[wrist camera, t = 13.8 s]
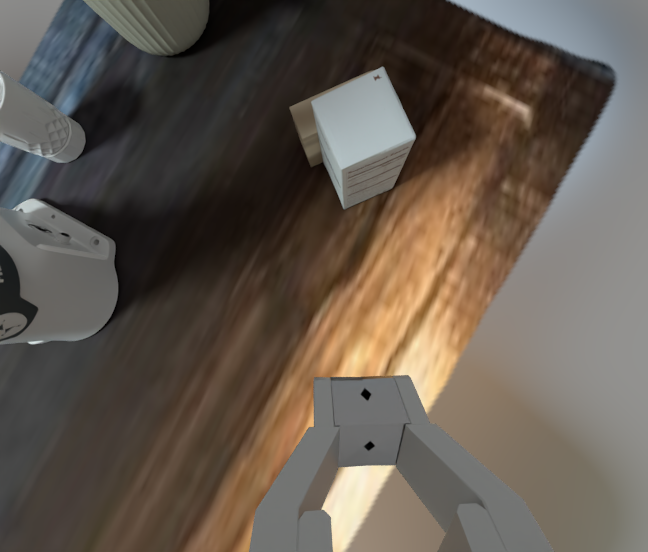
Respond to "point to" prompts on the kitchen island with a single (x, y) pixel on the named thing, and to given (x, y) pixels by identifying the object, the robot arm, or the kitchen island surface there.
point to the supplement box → (363, 136)
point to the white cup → (37, 124)
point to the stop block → (310, 126)
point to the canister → (156, 22)
